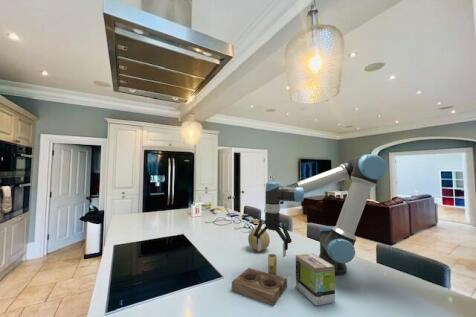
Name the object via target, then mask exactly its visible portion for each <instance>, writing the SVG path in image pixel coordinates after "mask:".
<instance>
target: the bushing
mask: <svg viewBox="0 0 476 317" xmlns="http://www.w3.org/2000/svg"><path fill="white" fill-rule="evenodd" d="M277 259H278V258H277V254H274V253H269V254H267V273H269V274H273V275H276V276H278V273H277V269H278V267H277V261H278V260H277Z"/></svg>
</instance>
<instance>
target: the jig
mask: <svg viewBox="0 0 476 317" xmlns="http://www.w3.org/2000/svg"><path fill="white" fill-rule="evenodd" d="M287 287H288V278H287V277H283V276H279V275H277V276H276V275H273V274H269V273H268V272H265V271H261V270H256V269H254V268H250V267H248V268H247V269H246V270H244V271H243V272H241V273H240V274H239V275H238V276H237V277H236V278H234V279H233V280H231V291H232V292H234V293H237V294H240V295H243V296H245V295H246V297H248V298H251V299H254V300H257V301H259V300H260V302H262V303H265V304H269V305H272V306H275V305H276V303H277V302H278V301H279V299H280V298H281V296H282V295H283V293H284V292H285V291H286V290H287Z"/></svg>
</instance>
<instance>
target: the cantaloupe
mask: <svg viewBox="0 0 476 317" xmlns="http://www.w3.org/2000/svg"><path fill="white" fill-rule="evenodd" d="M257 227H258V226H256V227H255V226H254V229H252V230H251V231H250V232H249V234H248V238H247V240H248V245H249V246H250V248H251V249H252V250H254V251H257V252H262V251H265V250H266V249H267V248H268V247H269V246H270V243H271V240H270V235H269V233H268V232H267V230H266V231H265V232H264V233H263V234H262V235H261V237H262V243H261V250H260V251H258V244H257V237H255V236H254V233H255V231H256V229H257ZM263 229H264V228H262V227H261V228H260V230H259V232H258V234H259V233H260V232H261V231H262V230H263Z"/></svg>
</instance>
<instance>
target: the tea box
mask: <svg viewBox="0 0 476 317" xmlns="http://www.w3.org/2000/svg"><path fill="white" fill-rule="evenodd" d="M335 277H336V276H335V266H334V265H332V264H330V263H329V262H327V261H325V260H323V259H322V258H320V257H319V255H316V254H314V253H306V254H296V255H295V288H297V289H298V290H299V291H300V292H301V293H302V295H304V296H305V297H306V298H307V299H308V300H309V301H311V303H312V304H313V305H314V306H321V305H327V304H332V303H335V301H336V290H335V289H336V286H335V284H336V281H335V280H336V278H335Z"/></svg>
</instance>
